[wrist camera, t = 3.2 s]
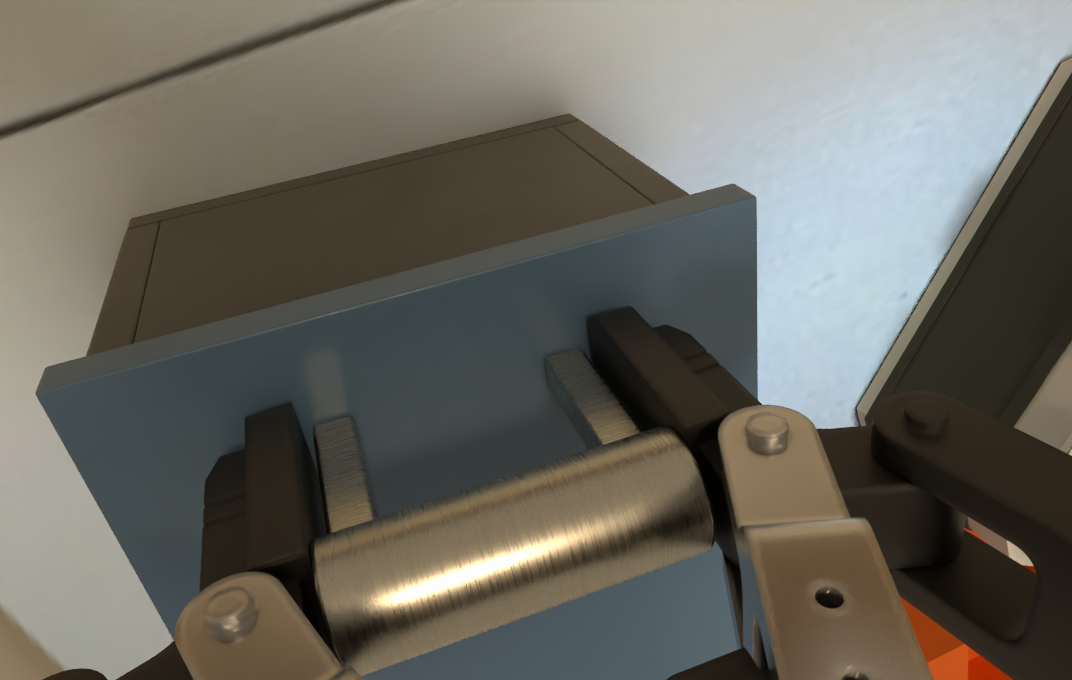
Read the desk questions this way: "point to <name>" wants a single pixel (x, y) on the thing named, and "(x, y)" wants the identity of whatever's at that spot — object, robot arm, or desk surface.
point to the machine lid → (453, 450)
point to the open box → (365, 225)
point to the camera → (1003, 298)
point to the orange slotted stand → (950, 649)
